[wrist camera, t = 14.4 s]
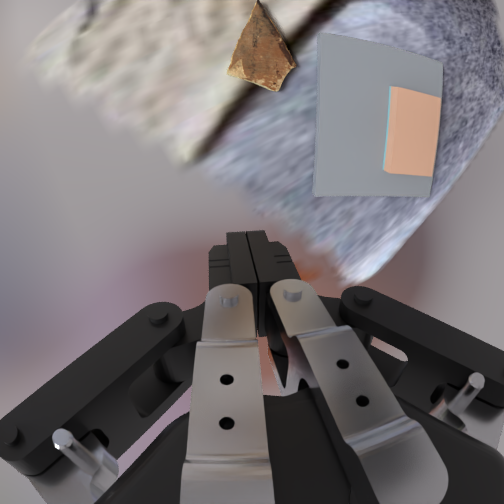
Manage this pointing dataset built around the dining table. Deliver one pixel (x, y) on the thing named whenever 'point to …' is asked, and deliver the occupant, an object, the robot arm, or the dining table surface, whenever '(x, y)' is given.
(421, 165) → the tile
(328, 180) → the board
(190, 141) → the dining table surface
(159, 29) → the dining table surface
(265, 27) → the shard
